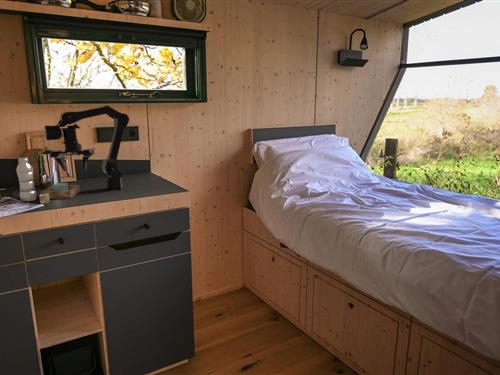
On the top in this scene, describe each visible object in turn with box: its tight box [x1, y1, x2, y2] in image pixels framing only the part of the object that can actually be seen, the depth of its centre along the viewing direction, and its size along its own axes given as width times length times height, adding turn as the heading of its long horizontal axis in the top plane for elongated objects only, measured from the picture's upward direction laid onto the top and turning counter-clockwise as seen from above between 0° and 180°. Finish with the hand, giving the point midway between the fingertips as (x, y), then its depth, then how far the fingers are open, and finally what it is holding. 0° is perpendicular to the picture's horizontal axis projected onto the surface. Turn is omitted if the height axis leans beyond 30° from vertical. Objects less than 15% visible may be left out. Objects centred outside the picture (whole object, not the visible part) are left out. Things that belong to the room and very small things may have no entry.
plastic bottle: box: [16, 156, 37, 203], centre depth 167 cm, size 6×7×20 cm
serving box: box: [40, 184, 81, 200], centre depth 179 cm, size 13×13×4 cm
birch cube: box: [39, 193, 51, 204], centre depth 167 cm, size 4×4×4 cm
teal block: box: [52, 182, 68, 191], centre depth 179 cm, size 5×5×5 cm
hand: (74, 170), depth 180 cm, fingers open, 9 cm apart
